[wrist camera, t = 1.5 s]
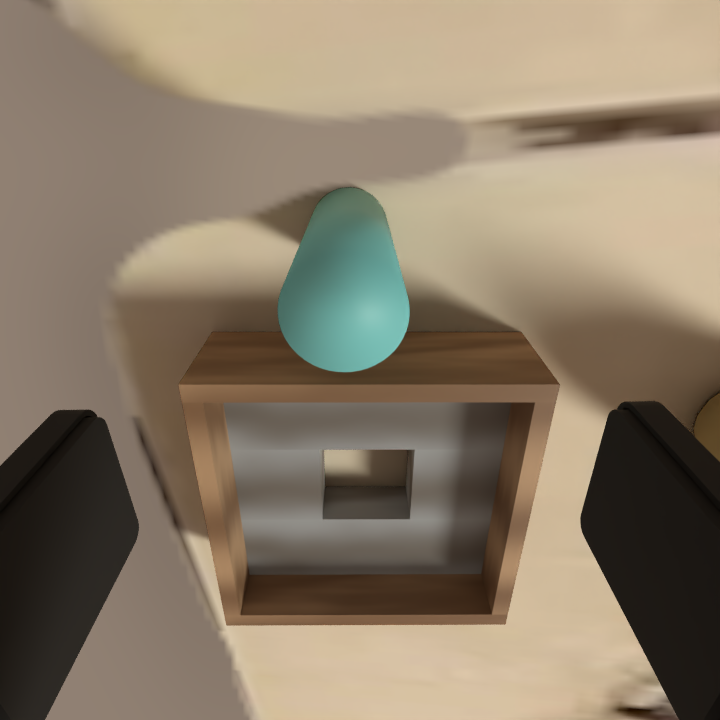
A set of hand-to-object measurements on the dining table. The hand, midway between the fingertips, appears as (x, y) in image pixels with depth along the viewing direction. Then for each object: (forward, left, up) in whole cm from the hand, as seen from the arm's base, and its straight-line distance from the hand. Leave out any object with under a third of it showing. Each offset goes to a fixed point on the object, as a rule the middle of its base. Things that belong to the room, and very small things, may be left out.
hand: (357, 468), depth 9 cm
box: (+15, +1, -18) cm, 23 cm away
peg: (0, 0, -18) cm, 18 cm away
